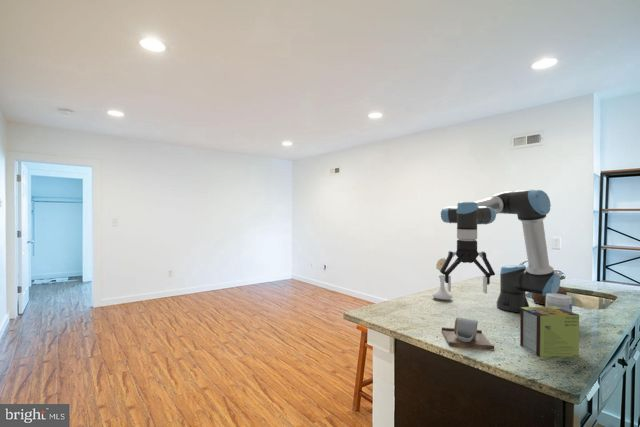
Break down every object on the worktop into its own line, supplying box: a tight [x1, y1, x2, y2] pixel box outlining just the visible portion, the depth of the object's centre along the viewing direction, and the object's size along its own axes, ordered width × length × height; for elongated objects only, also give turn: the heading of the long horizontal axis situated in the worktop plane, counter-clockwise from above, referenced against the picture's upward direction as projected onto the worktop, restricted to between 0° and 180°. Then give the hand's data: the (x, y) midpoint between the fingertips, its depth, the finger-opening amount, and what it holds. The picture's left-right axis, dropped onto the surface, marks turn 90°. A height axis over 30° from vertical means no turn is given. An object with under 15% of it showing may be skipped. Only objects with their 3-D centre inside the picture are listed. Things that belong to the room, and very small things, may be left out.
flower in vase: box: [432, 257, 453, 301], centre depth 188 cm, size 13×11×25 cm
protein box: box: [519, 306, 580, 358], centre depth 119 cm, size 10×15×16 cm
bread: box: [531, 286, 568, 306], centre depth 190 cm, size 16×36×8 cm, turn 134°
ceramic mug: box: [453, 317, 479, 342], centre depth 125 cm, size 11×8×8 cm
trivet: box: [441, 326, 495, 350], centre depth 128 cm, size 16×16×2 cm
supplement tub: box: [545, 293, 573, 312], centre depth 143 cm, size 10×10×15 cm
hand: (466, 291), depth 128 cm, fingers open, 13 cm apart
